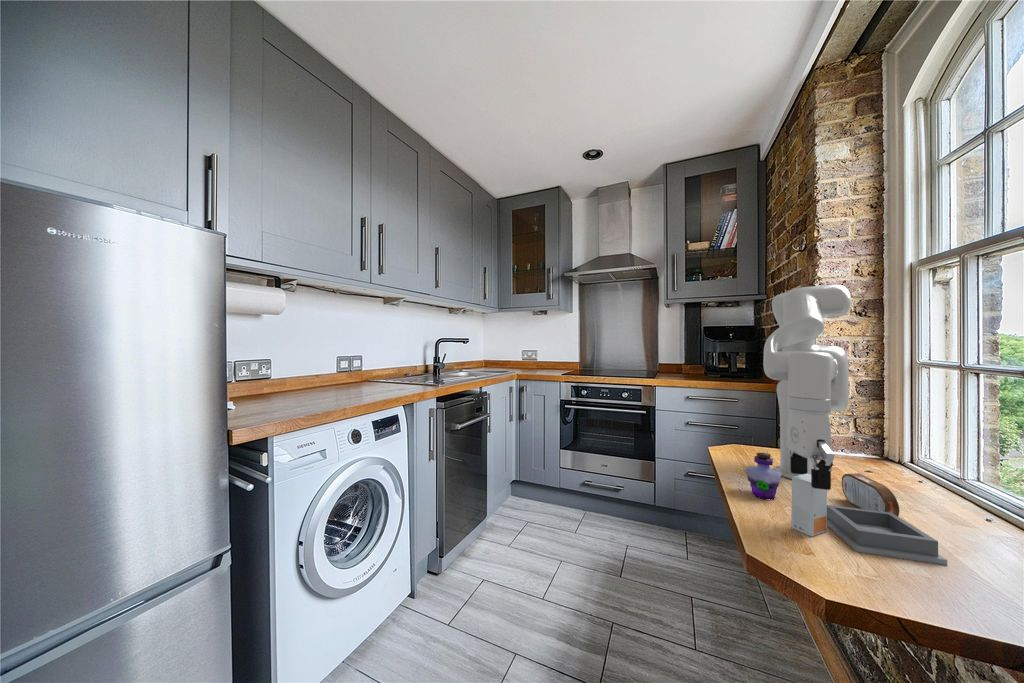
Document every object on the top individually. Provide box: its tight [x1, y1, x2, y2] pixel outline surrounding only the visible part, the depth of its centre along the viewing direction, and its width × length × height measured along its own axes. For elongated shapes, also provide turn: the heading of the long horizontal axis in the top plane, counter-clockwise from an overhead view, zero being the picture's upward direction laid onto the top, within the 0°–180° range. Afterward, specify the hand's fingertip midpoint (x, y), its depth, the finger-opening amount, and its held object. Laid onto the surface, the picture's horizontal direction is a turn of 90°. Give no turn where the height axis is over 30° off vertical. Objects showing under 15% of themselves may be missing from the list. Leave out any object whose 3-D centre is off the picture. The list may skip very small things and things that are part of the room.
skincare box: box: [790, 474, 828, 537], centre depth 79 cm, size 6×4×12 cm
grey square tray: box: [827, 504, 948, 566], centre depth 75 cm, size 14×14×4 cm
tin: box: [841, 472, 901, 517], centre depth 89 cm, size 15×3×8 cm, turn 168°
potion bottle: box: [745, 452, 782, 501], centre depth 97 cm, size 9×9×12 cm
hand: (809, 480), depth 79 cm, fingers open, 9 cm apart
